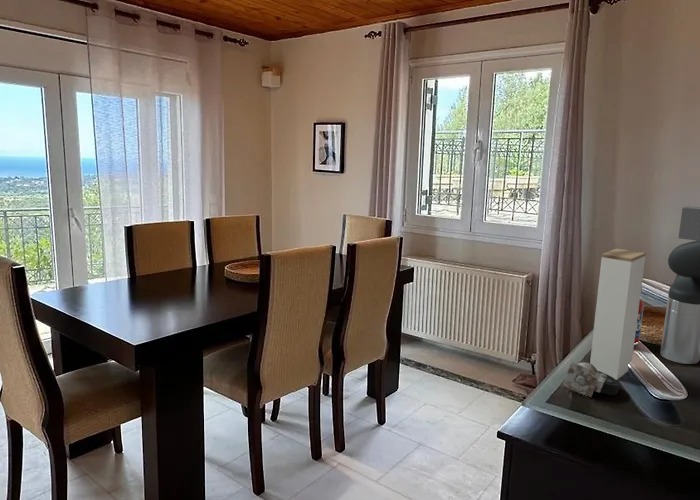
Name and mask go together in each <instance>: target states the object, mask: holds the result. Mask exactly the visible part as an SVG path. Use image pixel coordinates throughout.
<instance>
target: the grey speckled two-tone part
mask: <svg viewBox="0 0 700 500" xmlns="http://www.w3.org/2000/svg"><path fill="white" fill-rule="evenodd" d="M562 387H564V388H567V389H568V390H570V391H572V392H575V393H577V394H579V395H581V394H582V396H584V395H585V396H584V397H586V396H589V397H591V398H592V396H593V395H594V392H596V393H599V394H600V393H601V394H605V395H610V396H616V395H617V394H618V393H619V390H620V387H621V383H620V382H619V380H618V379H617V380H616V379H614V378H613V377H611V376H609V375H607V374H605V373H603V372H600V371H597V369H596V368H595V367H594V366H593V365H592V364H590V362H587V361H583V362H582V361H581V362H578V363H576V362H575V361H571V363H570V364H569V368H568V370H567V373H566V376H565V379H564V381H563V383H562Z"/></svg>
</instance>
